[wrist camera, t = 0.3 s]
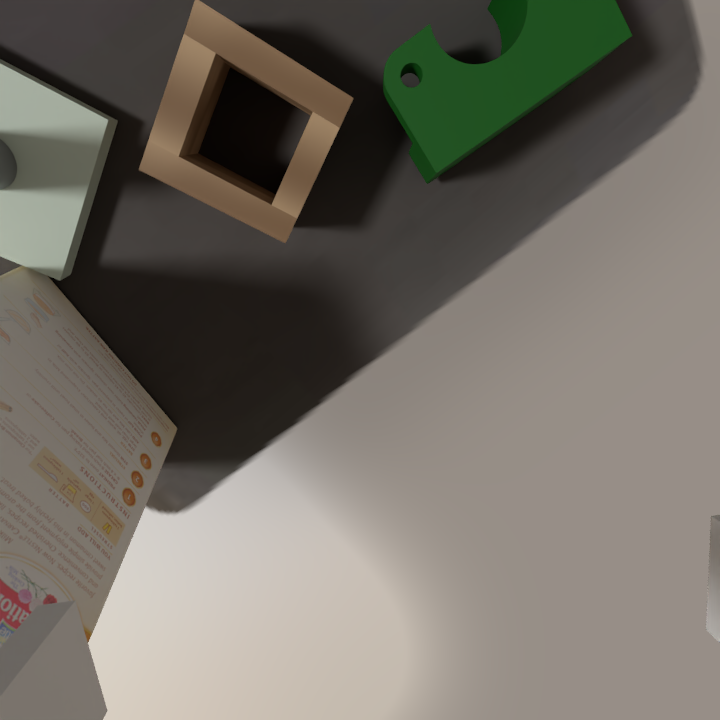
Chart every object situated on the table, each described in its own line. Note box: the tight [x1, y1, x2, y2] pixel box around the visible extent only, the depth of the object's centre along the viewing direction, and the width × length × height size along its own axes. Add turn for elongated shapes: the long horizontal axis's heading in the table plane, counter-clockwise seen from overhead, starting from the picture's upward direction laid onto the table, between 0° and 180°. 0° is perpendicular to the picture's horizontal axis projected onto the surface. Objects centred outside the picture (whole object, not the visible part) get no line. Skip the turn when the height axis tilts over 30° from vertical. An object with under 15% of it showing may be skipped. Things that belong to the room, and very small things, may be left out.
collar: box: [139, 0, 354, 243], centre depth 25 cm, size 8×8×5 cm
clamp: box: [383, 0, 632, 184], centre depth 25 cm, size 12×6×9 cm, turn 118°
